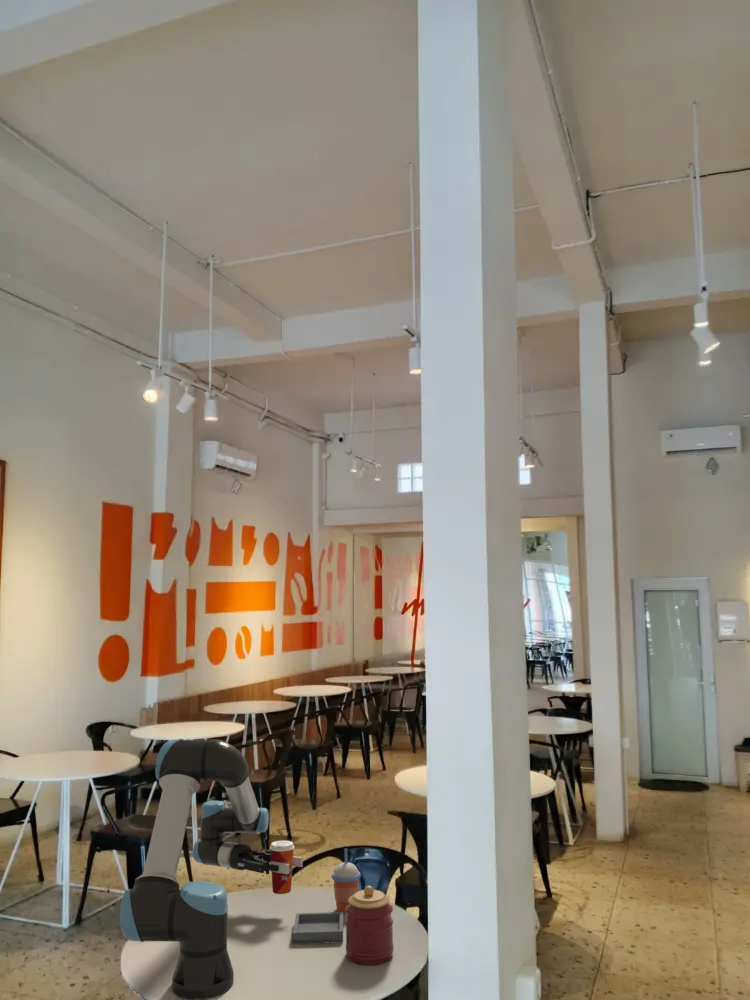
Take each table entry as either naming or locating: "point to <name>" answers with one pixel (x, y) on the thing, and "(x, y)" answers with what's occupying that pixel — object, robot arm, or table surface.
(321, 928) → the tray
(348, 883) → the cup with straw
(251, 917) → the table surface
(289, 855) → the paper cup
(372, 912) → the canister
